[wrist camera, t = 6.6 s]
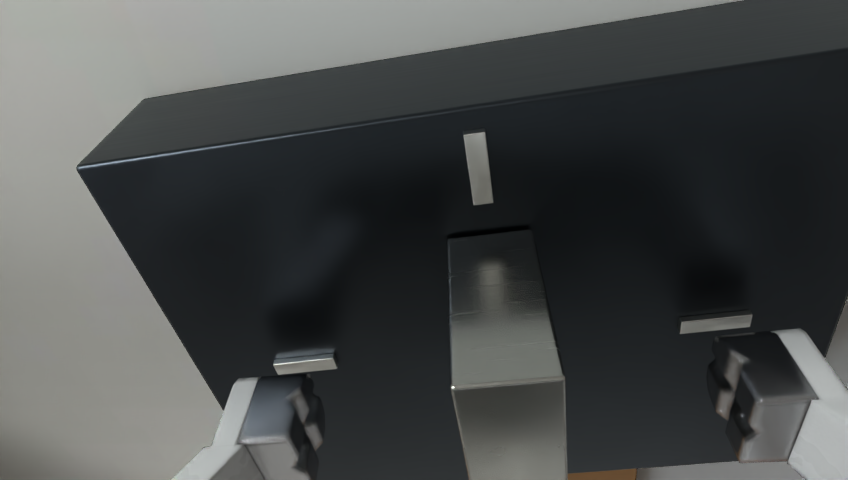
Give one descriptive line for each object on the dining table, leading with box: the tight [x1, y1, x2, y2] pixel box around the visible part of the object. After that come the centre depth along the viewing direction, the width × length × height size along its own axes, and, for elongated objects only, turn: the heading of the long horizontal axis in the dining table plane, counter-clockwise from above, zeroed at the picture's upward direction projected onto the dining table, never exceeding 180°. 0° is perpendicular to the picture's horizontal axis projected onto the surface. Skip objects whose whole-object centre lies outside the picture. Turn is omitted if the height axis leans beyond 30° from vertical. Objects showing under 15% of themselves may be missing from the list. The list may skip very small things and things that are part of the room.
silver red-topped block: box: [447, 229, 568, 480], centre depth 11 cm, size 6×2×4 cm, turn 9°
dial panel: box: [76, 0, 848, 480], centre depth 14 cm, size 14×11×3 cm
